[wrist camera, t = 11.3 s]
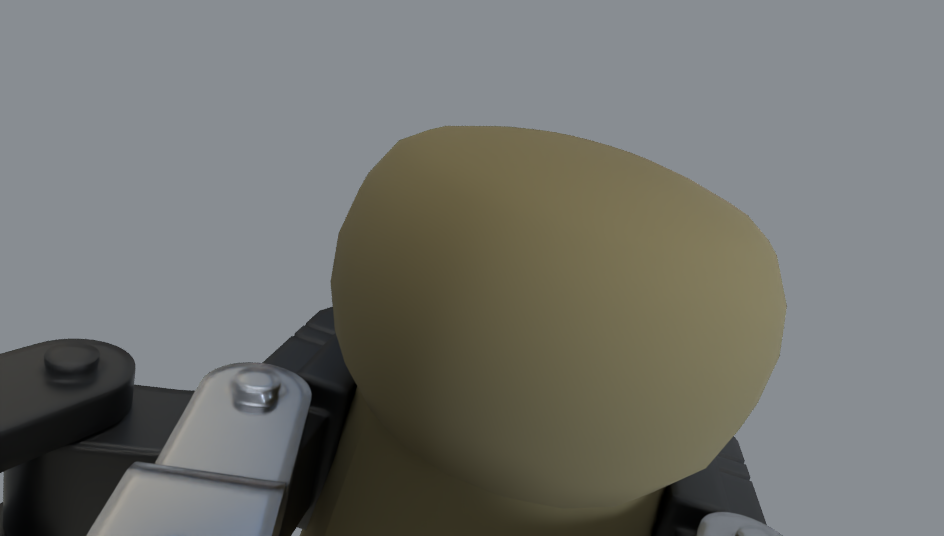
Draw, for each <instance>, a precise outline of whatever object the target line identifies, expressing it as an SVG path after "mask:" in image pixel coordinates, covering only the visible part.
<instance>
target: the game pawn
mask: <svg viewBox="0 0 944 536" xmlns="http://www.w3.org/2000/svg"><path fill="white" fill-rule="evenodd" d="M331 291H332V302H333V314H334V326H335V332H336V335H337V339H338V342H339V345H340V348H341V352H342V355H343V358H344V362H345V364H346V366H347V368H348V370H349V372H350V374H351V375H352V377H353V379H354V381H355V383H356V385H357V388H356V390H355V393H354V396H353V399H352V402H351V405H350V408H349V411H348V414H347V417H346V419H345V422H344V425H343V429H342V432H341V436H340V440H339V443H338V447H337V451H336V454H335V458H334V461H333V463H332V466H331V468H330V471H329V473H328V476H327V478H326V481H325V483H324V486H323V488H322V491H321V493H320V496H319V498H318V501H317V503H316V506H315V508H314V511H313V513H312V516H311V518H310V521H309V523H308V526H307V528H306V530H304V529H302V531H301V534H300V536H652V533H653V529H654V526H655V523H656V520H657V516H658V513H659V510H660V507H661V503H662V500H663V497H664V494H665V490H666V487H667V486H668V485H670V484H672V483H674V482H677V481H679V480H681V479H683V478H685V477H688V476H690V475H692V474H694V473H697V472H699V471H701V470H703V469H705V468H706V467H707V466H708V465H709V464H710V463H711V462H712V460H713V459H714V458H715V457H716V456H717V455H718V453H719V452H720V451H721V450H722V449H723V448H724V446H725V445H726V444H727V443H728V442H729V441H730V440H731V438H732V437H733V436H734V435H735V434H736V432H737V431H738V430H739V429H740V427H741V426H742V425H743V423H744V422H745V420H746V419H747V418H748V416H749V415H750V413H751V412H752V410H753V409H754V407H755V406H756V405H757V403H758V401H759V399H760V397H761V395H762V393H763V390H764V388H765V386H766V384H767V382H768V380H769V378H770V375H771V373H772V371H773V369H774V367H775V365H776V363H777V360H778V358H779V356H780V349H781V342H782V335H783V329H784V322H785V315H786V307H787V305H786V300H785V295H784V290H783V285H782V279H781V274H780V269H779V264H778V259H777V255H776V253H775V251H774V249H773V248H772V246H771V244H770V242H769V240H768V239H767V238H766V237H765V235H764V234H763V233H762V232H761V231H760V229H759V228H758V227H757V226H756V225H755V224H754V222H753V221H752V220H751V219H750V218H749V216H748V215H746V214H745V213H743V212H742V211H741V210H739V209H738V208H736V207H735V206H733V205H732V204H730V203H729V202H727V201H726V200H724V199H722V198H720V197H719V196H717V195H716V194H714V193H712V192H710V191H709V190H707V189H705V188H704V187H702V186H700V185H699V184H697V183H695V182H694V181H692V180H690V179H688V178H686V177H684V176H682V175H680V174H678V173H676V172H673V171H672V170H670V169H667V168H665V167H663V166H661V165H659V164H656V163H654V162H652V161H650V160H648V159H645V158H643V157H640V156H638V155H635V154H633V153H630V152H627V151H624V150H621V149H618V148H615V147H612V146H609V145H605V144H601V143H598V142H594V141H591V140H587V139H583V138H578V137H575V136H571V135H566V134H560V133H556V132H549V131H542V130H534V129H525V128H516V127H501V126H444V127H439V128H435V129H430V130H427V131H424V132H422V133H419V134H416V135H413V136H410V137H408V138H405V139H402V140H399V141H398V142H397V143H396V144H395V145H394V147H392V149H391V150H390V151H389V152H388V153H387V154H386V155H385V156H384V157H383V158H382V159H381V160H380V161H379V163H377V165H376V166H375V167H374V168H373V169H372V170H371V171H370V172H369V173H368V175H367V177H366V179H365V180H364V182H363V184H362V185H361V187H360V189H359V191H358V193H357V195H356V197H355V200H354V202H353V204H352V206H351V208H350V210H349V213H348V215H347V217H346V219H345V221H344V223H343V225H342V227H341V230H340V232H339V235H338V241H337V247H336V253H335V259H334V265H333V271H332V277H331Z"/></svg>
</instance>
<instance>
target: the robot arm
mask: <svg viewBox="0 0 944 536" xmlns="http://www.w3.org/2000/svg"><path fill="white" fill-rule="evenodd" d="M134 378H135V362H134V359H133V358H132V357H131V356H130V354H129V353H127V352H126V351H125V350H123V349H121V348H119V347H117V346H114V345H112V344H109V343H105V342H101V341H96V340H88V339H59V340H52V341H46V342H42V343H38V344H34V345H31V346H27V347H23V348H20V349H16V350H12V351H9V352H5V353H2V354H0V473H1V472H4V488H3V489H4V491H3V502H2V503H1V504H0V536H291V535H292V533H293V532H294V530H295V529H296V527H299V528H301V529H304V530H306V528H307V526H308V523H309V521H310V518H311V516H312V513H313V511H314V508H315V506H316V503H317V501H318V498H319V496H320V493H321V491H322V488H323V486H324V483H325V481H326V478H327V476H328V473H329V471H330V468H331V466H332V463H333V461H334V458H335V454H336V451H337V447H338V443H339V440H340V436H341V432H342V429H343V425H344V422H345V419H346V417H347V414H348V411H349V408H350V405H351V402H352V399H353V396H354V393H355V390H356V388H357V385H356V383H355V381H354V379H353V377H352V375H351V374H350V372H349V370H348V368H347V366H346V364H345V362H344V358H343V355H342V352H341V348H340V345H339V342H338V339H337V335H336V332H335V326H334V314H333V307H330V308H327V309H324V310H320V311H319V312H318V313H317V314H316V315H315V316H313V317H312V318H311V319H310V320H309V321H308V322H307V323H306V325H305V326H303V327H301V328H300V329H299V330H298V331H297V332H296V333H295V336H291V338H289V339H288V340H287V341H286V342H285V343H284V344H283V345H282V346H280V348H278V349H277V350H276V351H275V352H274V353H273V354H272V355H271V356H269V357H268V358H267V359H266V360H265V361H264V362H263V363H253V362H248V363H235V364H229V365H225V366H222V367H219V368H217V369H215V370H213V371H211V372H209V373H208V374H207V375H206V376H205V377H204V378H203V379H202V381H201V382H200V384H199V386H198V387H197V389H196V391H187V390H175V389H166V388H158V387H150V386H141V385H134ZM749 480H750V475H749V472H748V469H747V467H746V465H745V464H744V458H743V455H742V452H741V449H740V446H739V443H738V441H737V440H736V438H735V437H734V436H733V437H732V438H731V440H730V441H729V442H728V443H727V444H726V445H725V446H724V448H723V449H722V450H721V451H720V452H719V453H718V455H717V456H716V457H715V458H714V459H713V460H712V462H711V463H710V464H709V465H708V466H707V467H706V468H705V469H703V470H701V471H699V472H697V473H694V474H692V475H690V476H688V477H685V478H683V479H681V480H679V481H677V482H674V483H672V484H670V485H668V486H667V487H666V490H665V494H664V497H663V500H662V503H661V507H660V510H659V513H658V516H657V520H656V523H655V526H654V529H653V533H652V536H783V535H781V534H780V533H778V532H777V531H775V530H774V529H772V528H771V527H769V526H767V524H766V522H765V519H764V516H763V513H762V510H761V507H760V504H759V501H758V499H757V496H756V492H755V490H754V487H753V484H752V482H751V481H749Z"/></svg>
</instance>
